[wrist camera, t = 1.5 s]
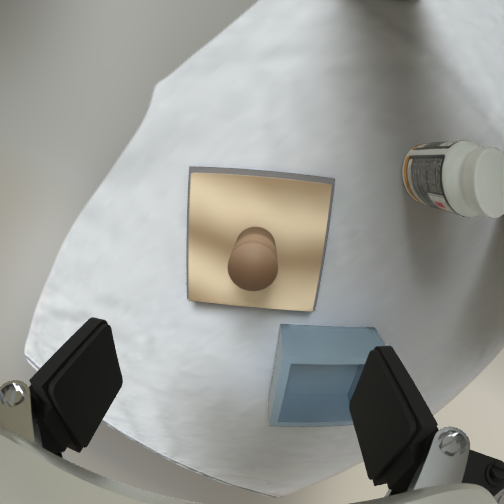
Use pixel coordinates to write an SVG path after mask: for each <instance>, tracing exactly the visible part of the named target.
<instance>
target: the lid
mask: <svg viewBox="0 0 504 504" xmlns="http://www.w3.org/2000/svg"><path fill="white" fill-rule="evenodd" d="M331 188H332V185H331V184H325V183H318V182H309V181H301V180H292V179H282V178H271V177H260V176H247V175H232V174H214V173H191V183H190V207H189V261H188V267H189V300H191V301H199V302H208V303H217V304H226V305H236V306H247V307H258V308H270V309H283V310H297V311H313V306H314V301H315V296H316V290H317V285H318V279H319V273H320V267H321V261H322V255H323V248H324V242H325V235H326V228H327V220H328V213H329V205H330V196H331Z"/></svg>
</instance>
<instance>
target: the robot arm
mask: <svg viewBox="0 0 504 504" xmlns="http://www.w3.org/2000/svg"><path fill="white" fill-rule="evenodd" d="M122 382H123V379H122V375H121V371H120V367H119V363H118V358H117V354H116V349H115V345H114V340H113V335H112V330H111V327H110V325H108V323H107V322H106V321H105V320H102V319H98V318H90V319H89V320H88V321H87V322H86V323H85V324H84V325H83V326H82V327H81V328H80V329H79V330H78V331H77V332H76V333H75V334H74V335H73V336H71V337H70V338H69V339H68V340H67V341H66V342H65V343H64V344H63V346H62V347H61V348H60V349H59V350H58V351H57V352H56V353H55V354H54V355H53V356H52V357H51V358H50V359H49V360H48V361H47V362H46V363H45V364H44V365H43V366H42V367H41V368H40V369H39V370H38V372H37V373H36V374H35V375H34V376H33V377H32V378H31V379H30V383H31V386H30V387H28V386H27V385H26V384H25V383H24V382H22V381H17V380H16V381H15V380H13V381H9V382H6V383H4V384H3V385H2V386H1V387H0V504H203V503H197V502H192V501H186V500H181V499H177V498H172V497H168V496H164V495H160V494H156V493H152V492H148V491H144V490H141V489H138V488H135V487H131V486H128V485H125V484H122V483H119V482H117V481H114V480H111V479H108V478H106V477H103V476H101V475H98V474H96V473H93V472H91V471H89V470H86V469H84V468H82V467H80V466H78V465H75V464H73V463H71V462H69V461H67V457H66V454H65V450H66V448H67V447H68V448H70V449H72V450H74V451H76V452H81V450H82V448H83V447H84V448H85V447H87V446H88V444H89V442H90V440H91V439H92V437H93V435H94V433H95V431H96V430H97V428H98V426H99V424H100V423H101V421H102V419H103V417H104V416H105V414H106V412H107V410H108V409H109V407H110V405H111V404H112V402H113V400H114V398H115V397H116V395H117V393H118V392H119V390H120V388H121V386H122ZM349 410H350V414H351V417H352V420H353V424H354V427H355V431H356V434H357V438H358V441H359V445H360V448H361V452H362V456H363V459H364V463H365V467H366V471H367V475H368V477H369V479H370V480H372V479H373V483H374V486H377V485H382V484H386V483H387V484H388V488H389V490H388V492H387V493H386V495H385V497H384V498H379V499H374V500H369V501H363V502H357V503H351V504H504V462H502V461H501V460H498V459H495V458H492V457H489V456H486V455H484V454H481V453H478V452H475V451H473V450H470V442H469V438H468V437H467V436H466V434H465V433H464V432H463V431H462V430H460V429H458V428H455V427H444V428H442V429H440V430H438V428H437V425H438V424H437V422H436V420H435V419H434V417H433V415H432V413H431V411H430V410H429V408H428V406H427V404H426V402H425V401H424V399H423V397H422V395H421V394H420V392H419V390H418V389H417V387H416V385H415V384H414V382H413V380H412V379H411V377H410V375H409V374H408V372H407V370H406V369H405V367H404V365H403V364H402V362H401V361H400V359H399V357H398V356H397V354H396V353H395V351H394V349H393V348H392V347H391V346H376V347H375V348H374V350H371V351H370V352H369V354H368V357H367V360H366V363H365V365H364V368H363V371H362V373H361V376H360V378H359V381H358V383H357V386H356V388H355V391H354V393H353V395H352V398H351V400H350V404H349Z"/></svg>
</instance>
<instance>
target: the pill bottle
mask: <svg viewBox="0 0 504 504" xmlns="http://www.w3.org/2000/svg"><path fill="white" fill-rule="evenodd" d="M402 178H403V182H404V185H405V188H406V190H407V192H408V193H409V194H410V196H411V197H412V198H413V199H414V200H416V201H417V202H419V203H421V204H424V205H427V206H431V207H435V208H438V209H442V210H445V211H448V212H452V213H455V214H458V215H461V216H463V217H475V216H478V215H481V216H485V217H489V218H498V217H500V216H502V215H503V214H504V154H503V153H502V152H501V151H500V150H499V149H497V148H494V147H483V146H482V147H480V146H479V145H477V144H475V143H473V142H469V141H452V142H437V143H426V144H420V145H417V146H415V147H413V148H412V149H411V150H410V151H409V152H408V153H407V155H406V157H405V159H404V162H403V167H402Z"/></svg>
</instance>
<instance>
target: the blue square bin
mask: <svg viewBox="0 0 504 504" xmlns="http://www.w3.org/2000/svg"><path fill="white" fill-rule="evenodd" d="M376 346H385V344H384V342H383V340H382V339H381V337H380V335H379V334H378V332H377V330H376V329H375V328H364V327H326V326H305V325H288V324H280V330H279V337H278V343H277V349H276V356H275V362H274V368H273V374H272V380H271V385H270V391H269V426H281V427H322V426H342V425H354V424H353V420H352V417H351V414H350V410H349V404H350V400H351V398H352V395H353V393H354V391H355V388H356V386H357V383H358V381H359V378H360V376H361V373H362V371H363V368H364V365H365V363H366V360H367V357H368V354H369V352H370V351H371V350H374V348H375V347H376Z"/></svg>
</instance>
